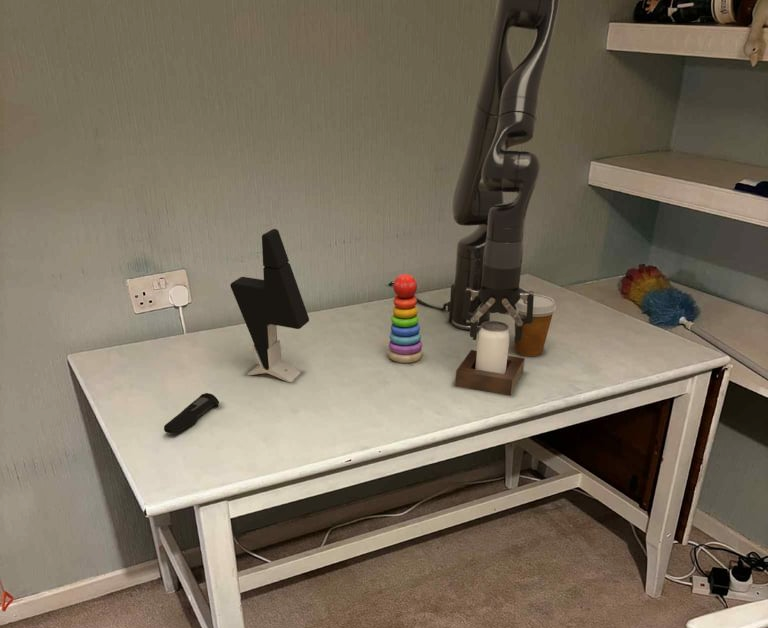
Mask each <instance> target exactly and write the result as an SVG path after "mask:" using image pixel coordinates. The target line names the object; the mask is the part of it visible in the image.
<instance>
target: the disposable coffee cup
mask: <svg viewBox="0 0 768 628" xmlns="http://www.w3.org/2000/svg"><path fill="white" fill-rule="evenodd" d="M515 305H516V307H517V308H518V311H519V312H520V314H521V316H522V317H523V316H527V304H524V303H523V300H522V299H520V300H519V301H518V302H517V303H516V304H515ZM556 310H557V306H556V303H555V299H553V298H552V297H550V296H547V295H543V294H536V293H534V301H533V319H532V323H531V324H525V325H523V328H522V337H521V340H520V341H519V340H518V342H517V343H514V351H515V353H517V354H518V355H520V356H525V357H538V356H540V355H542V354H543V351H544V347H545V344H546V340H547V337H548V334H549V330H550V325H551V322H552V318H553V314H554V313H555V311H556ZM515 329H516V322H515V321H514V330H515Z"/></svg>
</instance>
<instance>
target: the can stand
mask: <svg viewBox="0 0 768 628" xmlns="http://www.w3.org/2000/svg"><path fill="white" fill-rule="evenodd" d="M476 355H477V350H475V349H471V350H470V351H469V352H468V354H467V355H466V356H465V358H464V359H463V361H462V362H461V364H460V365H459V366H458V368H457V369H456V370H455V380H454V381H455V382H454V386H455V387H460V388H464V389H470V390H478V391H481V392H489V393H493V394H494V393H495V394H499V395H500V394H501V395H506V396H512V394H513V392H514V391H515V388H517V387H516V386H517V385H518V383H519V381H520V380H521V378H522V376H523V374H524V370H525V369H524V368H525V360H526V359H525V357H519V356H513V355H508V356H507V364H506V372H505V373H504V374H501V373H495V372H489V371H482V370H476V369H475V367H476Z"/></svg>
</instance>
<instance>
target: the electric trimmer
mask: <svg viewBox="0 0 768 628" xmlns="http://www.w3.org/2000/svg"><path fill="white" fill-rule="evenodd" d="M219 404H220V401H219V399H218V398H217V397H216V395H214V394H212V393H209V392H205V393H202V394H200V395H199V396H198V397H197V398H196V399H195V400H194V401H193V402H191V403H190V404H188V405H187V406H185V408H184V409H182V411H181V412H179V413H178V414H177V415H175V416H174V417H173V418H172V419H170V421H168V422H167V423H166V424H165V425H164V426H163V431H164V432H166V433H169V434H174V435H176V434H179V433H180V432H182V431H184V430H186V429H187V428H189V427H191V426H193V425H195V424H196V423H197V421H198V418H199V417H201V416H202V415H203V414H205V413H206V412H208V411H209V410H210V409H212V408H213V407H214V408H217V407H219Z"/></svg>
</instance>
